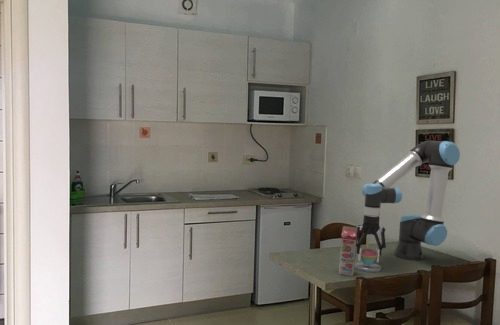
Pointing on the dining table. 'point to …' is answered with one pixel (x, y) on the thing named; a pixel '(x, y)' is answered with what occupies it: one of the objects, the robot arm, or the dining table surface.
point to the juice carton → (348, 250)
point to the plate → (367, 267)
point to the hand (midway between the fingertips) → (368, 260)
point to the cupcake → (368, 255)
